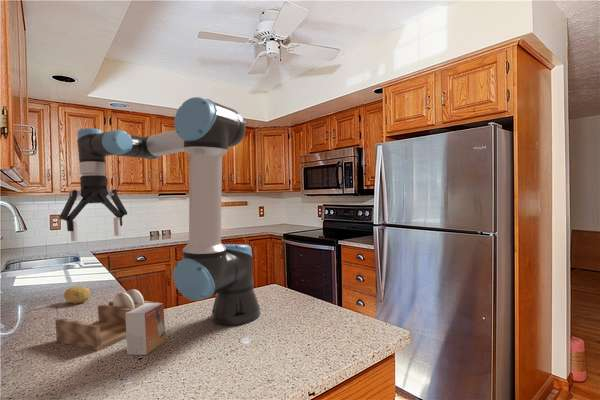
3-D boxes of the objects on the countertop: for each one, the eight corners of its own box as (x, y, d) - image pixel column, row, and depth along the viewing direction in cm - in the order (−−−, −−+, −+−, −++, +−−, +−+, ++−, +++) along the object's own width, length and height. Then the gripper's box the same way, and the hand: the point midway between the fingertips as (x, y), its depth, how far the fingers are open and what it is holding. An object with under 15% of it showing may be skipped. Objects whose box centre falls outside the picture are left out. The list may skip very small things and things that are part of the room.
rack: (160, 322, 102) (159, 289, 101) (97, 351, 84) (95, 311, 83) (122, 315, 109) (120, 285, 109) (56, 340, 91) (54, 304, 91)
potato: (76, 307, 121) (75, 290, 121) (59, 304, 126) (58, 288, 126) (94, 301, 127) (93, 285, 127) (77, 298, 132) (76, 283, 132)
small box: (146, 356, 80) (144, 313, 80) (126, 355, 81) (124, 312, 81) (166, 341, 88) (164, 302, 87) (147, 340, 89) (145, 302, 89)
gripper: (124, 177, 122) (127, 233, 122) (44, 175, 101) (48, 243, 102) (135, 175, 118) (138, 233, 118) (54, 173, 97) (58, 244, 97)
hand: (97, 238), depth 110 cm, fingers open, 13 cm apart
